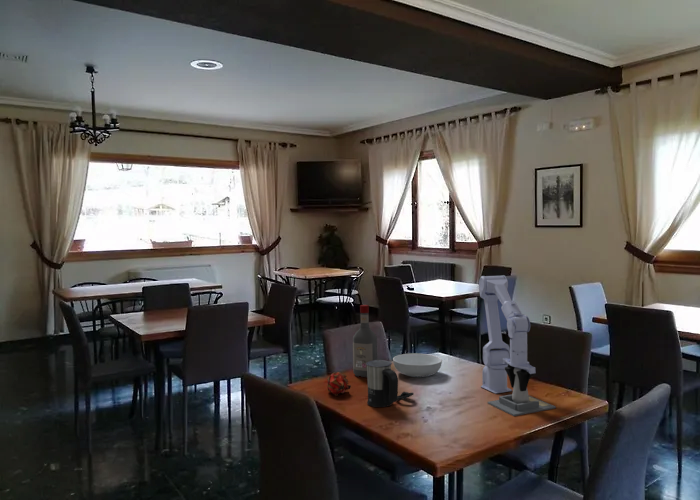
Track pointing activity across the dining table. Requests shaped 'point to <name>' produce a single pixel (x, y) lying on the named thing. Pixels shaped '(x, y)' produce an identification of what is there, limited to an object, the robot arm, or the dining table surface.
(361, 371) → the liquor
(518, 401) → the salt shaker
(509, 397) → the stand
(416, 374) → the serving bowl
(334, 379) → the dragon fruit
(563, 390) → the dining table surface
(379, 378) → the milk frother
